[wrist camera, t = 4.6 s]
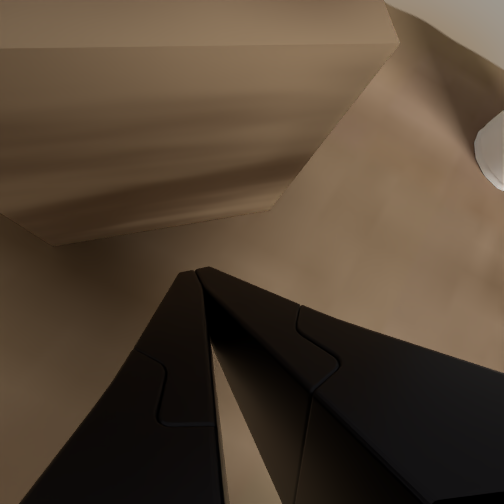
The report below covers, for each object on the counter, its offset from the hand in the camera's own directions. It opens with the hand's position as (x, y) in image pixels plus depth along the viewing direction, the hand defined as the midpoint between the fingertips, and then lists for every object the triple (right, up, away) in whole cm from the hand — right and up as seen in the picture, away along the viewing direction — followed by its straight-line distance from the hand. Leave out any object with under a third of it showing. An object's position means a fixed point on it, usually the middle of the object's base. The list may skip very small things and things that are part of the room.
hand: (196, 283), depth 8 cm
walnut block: (-4, +4, +10) cm, 11 cm away
